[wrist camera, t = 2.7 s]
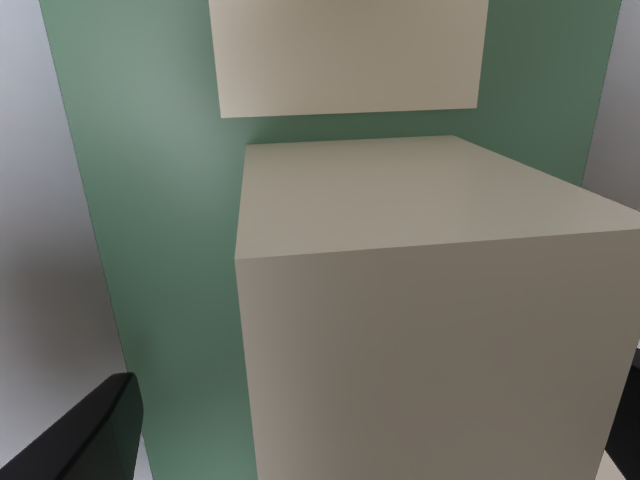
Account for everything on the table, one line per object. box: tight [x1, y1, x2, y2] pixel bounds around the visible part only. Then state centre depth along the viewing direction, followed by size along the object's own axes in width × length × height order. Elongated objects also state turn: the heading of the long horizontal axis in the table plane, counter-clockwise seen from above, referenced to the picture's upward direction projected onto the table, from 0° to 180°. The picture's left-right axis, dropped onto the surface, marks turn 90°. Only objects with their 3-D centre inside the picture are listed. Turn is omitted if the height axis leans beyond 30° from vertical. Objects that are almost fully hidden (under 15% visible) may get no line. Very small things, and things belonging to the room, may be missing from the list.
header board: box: [39, 0, 622, 480], centre depth 7 cm, size 21×10×4 cm, turn 1°
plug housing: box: [234, 135, 640, 480], centre depth 8 cm, size 9×4×5 cm, turn 1°
